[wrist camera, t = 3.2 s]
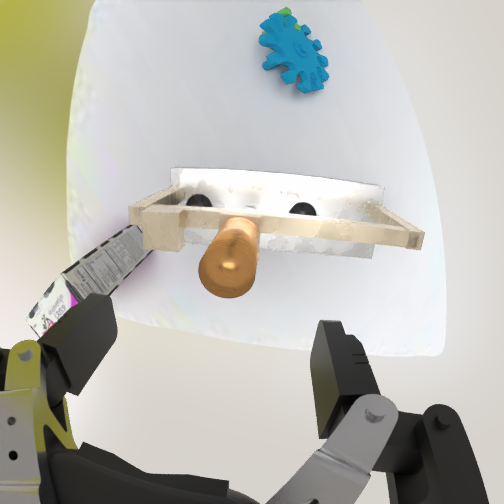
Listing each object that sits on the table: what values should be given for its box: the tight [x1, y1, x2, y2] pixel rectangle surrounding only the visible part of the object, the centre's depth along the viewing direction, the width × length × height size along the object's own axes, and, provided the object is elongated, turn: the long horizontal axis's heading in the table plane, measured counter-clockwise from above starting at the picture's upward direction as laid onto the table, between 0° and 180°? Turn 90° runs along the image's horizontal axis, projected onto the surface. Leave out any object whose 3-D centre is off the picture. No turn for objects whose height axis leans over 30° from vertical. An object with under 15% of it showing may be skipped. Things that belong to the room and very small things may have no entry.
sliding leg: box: [198, 207, 262, 298], centre depth 23 cm, size 3×3×18 cm
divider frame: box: [129, 167, 425, 259], centre depth 27 cm, size 9×25×14 cm, turn 86°
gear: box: [259, 7, 329, 93], centre depth 24 cm, size 11×6×10 cm
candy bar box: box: [26, 225, 153, 338], centre depth 29 cm, size 11×5×16 cm, turn 126°
